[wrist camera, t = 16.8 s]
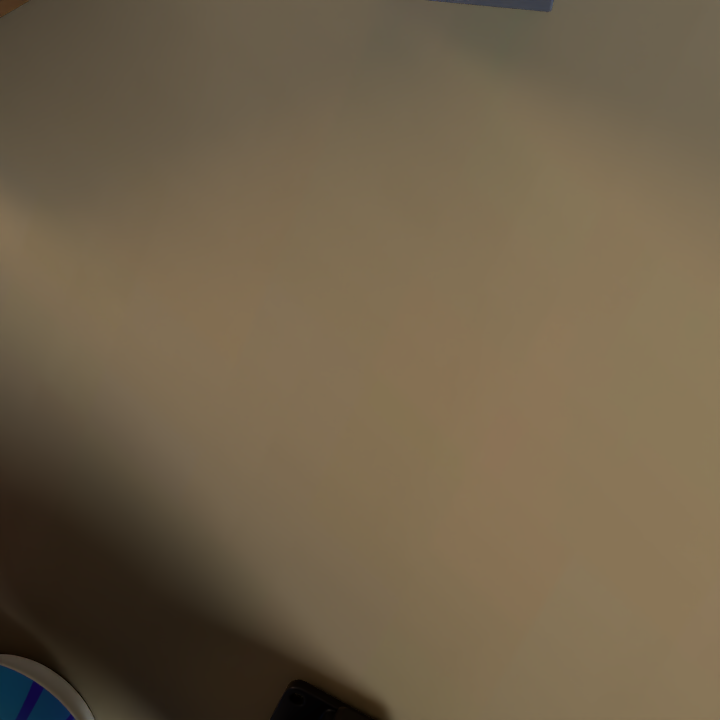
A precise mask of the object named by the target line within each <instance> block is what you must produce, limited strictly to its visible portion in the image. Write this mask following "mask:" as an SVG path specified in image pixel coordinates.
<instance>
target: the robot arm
mask: <svg viewBox="0 0 720 720" xmlns="http://www.w3.org/2000/svg"><path fill="white" fill-rule="evenodd" d="M295 693H297V694H300V695H301V696H302V697H298V696H297V695H296V694H295ZM270 720H374V719H372V718H371V717H369V716H367V715H365V714H363V713H362V712H360V711H358V710H356V709H354V708H352V707H351V706H349V705H347V704H345V703H343V702H342V701H340V700H338V699H336V698H334V697H333V696H331V695H329V694H327V693H325V692H324V691H322V690H320V689H318V688H316V687H314V686H313V685H311V684H309V683H307V682H305V681H303V680H293V681H291V682H290V683H289V684H288V686H287V688H286V690H285V692H284V694H283V696H282V697H281V699H280V701H279V703H278V705H277V707H276V709H275V711H274V713H273V715H272V717H271V718H270Z"/></svg>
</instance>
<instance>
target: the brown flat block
mask: <svg viewBox="0 0 720 720" xmlns="http://www.w3.org/2000/svg"><path fill="white" fill-rule="evenodd" d="M28 1H29V0H0V17H2V16H4V15H5V14H7V13H9V12H10V11H12V10H14V9H16V8H17V7H19V6H21V5H23V4H24V3H26V2H28Z"/></svg>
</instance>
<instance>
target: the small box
mask: <svg viewBox="0 0 720 720" xmlns="http://www.w3.org/2000/svg"><path fill="white" fill-rule="evenodd" d="M430 1H441V2H451V3H462V4H472V5H483V6H493V7H504V8H514V9H525V10H535V11H546V12H549V11H551V10H552V6H553V1H554V0H430Z"/></svg>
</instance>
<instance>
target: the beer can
mask: <svg viewBox="0 0 720 720" xmlns="http://www.w3.org/2000/svg"><path fill="white" fill-rule="evenodd" d="M0 720H95V719H94V717H93V715H92V713H91V711H90V709H89V708H88V706H87V704H86V703H85V702H84V700H83V699H82V697H81V696H80V695H79V694H78V693H77V691H76V690H75V689H74V688H73V687H72V686H71V685H70V684H69V683H68V682H67V681H65V680H64V679H63V678H62V677H61V676H59V675H58V674H57V673H55V672H54V671H52V670H51V669H49V668H47V667H46V666H44V665H42V664H40V663H38V662H35V661H33V660H30V659H27V658H24V657H20V656H16V655H8V654H0Z"/></svg>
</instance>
